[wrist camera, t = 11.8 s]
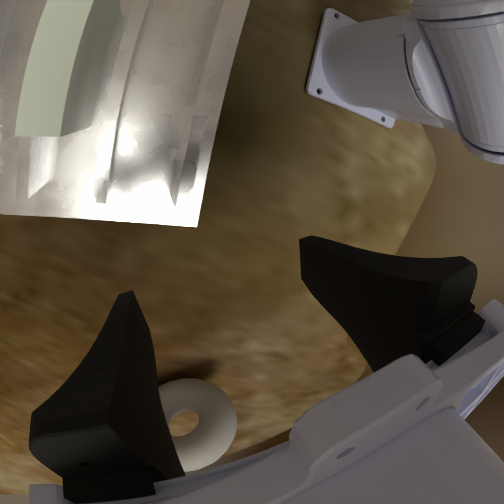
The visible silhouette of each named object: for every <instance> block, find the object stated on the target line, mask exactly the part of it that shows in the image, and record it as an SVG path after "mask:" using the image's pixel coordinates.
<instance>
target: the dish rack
mask: <svg viewBox="0 0 504 504" xmlns="http://www.w3.org/2000/svg"><path fill="white" fill-rule="evenodd" d="M46 2H47V0H0V214H9V215H29V216H47V217H64V218H80V219H95V220H110V221H124V222H138V223H151V224H164V225H177V226H189V227H197V224H198V218H199V213H200V207H201V202H202V197H203V191H204V186H205V181H206V176H207V171H208V166H209V162H210V157H211V152H212V147H213V143H214V138H215V134H216V129H217V125H218V120H219V116H220V112H221V108H222V103H223V99H224V95H225V91H226V87H227V83H228V79H229V75H230V71H231V67H232V64H233V60H234V56H235V52H236V49H237V45H238V41H239V38H240V34H241V31H242V27H243V24H244V20H245V17H246V13H247V10H248V7H249V3H250V0H120V8H121V9H120V12H119V15H118V18H117V20H116V24H115V27H114V30H113V33H112V36H111V39H110V43H109V46H108V50H107V53H106V57H105V61H104V65H103V69H102V73H101V77H100V81H99V86H98V90H97V95H96V100H95V105H94V110H93V116H92V122H91V127H90V128H87V129H84V130H80V131H77V132H74V133H71V134H68V135H65V136H62V137H34V136H15V128H16V120H17V113H18V107H19V101H20V95H21V90H22V85H23V80H24V75H25V71H26V66H27V62H28V58H29V55H30V51H31V47H32V44H33V40H34V37H35V34H36V31H37V28H38V24H39V22H40V19H41V16H42V13H43V10H44V8H45V5H46Z"/></svg>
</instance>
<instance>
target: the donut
mask: <svg viewBox="0 0 504 504" xmlns="http://www.w3.org/2000/svg"><path fill="white" fill-rule="evenodd" d="M158 387H159V394H160V399H161V404H162V407H163V411H164V415H165V418H166V422H167V425H169V422H170V421H171V419H172V418H173V417H174V416H176V415H177V414H179V413H181V412H184V411H194V412H196V413H198V415H199V423H198V425H197V426H196V428H195V429H194V430H193V431H191V432H190V433H189V434H186V435H184V436H179V437H176V436H172V435H171V437H172V440H173V443H174V446H175V449H176V452H177V454H178V457H179V460H180V463H181V465H182V468H183V470H184V472H186V471H193V470H199V469H201V468H203V467H205V466H207V465H210V464H212V463H214V462H215V461H216V460H217V459H218V458H220V457H221V456H222V455H223V454H224V453H225V452H226V451H227V450H228V448H229V446H230V444H231V443H232V441H233V439H234V437H235V433H236V427H237V417H236V412H235V408H234V404H233V403H232V401H231V400H230V398H229V397H228V396H227V394H226V393H225V392H224V391H223V390H222V389H220V388H219V387H217V386H216V385H215V384H213V383H210V382H207V381H204V380H201V379H198V378H182V379H177V380H172V381H169V382H167V383H165V384H163V385H160V386H158Z"/></svg>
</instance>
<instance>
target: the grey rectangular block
mask: <svg viewBox="0 0 504 504" xmlns="http://www.w3.org/2000/svg"><path fill="white" fill-rule="evenodd" d="M120 9H121V8H120V0H47V2H46V5H45V8H44V10H43V13H42V16H41V19H40V22H39V24H38V28H37V31H36V34H35V37H34V40H33V44H32V47H31V51H30V55H29V58H28V62H27V66H26V71H25V75H24V80H23V85H22V90H21V95H20V101H19V107H18V113H17V120H16V128H15V136H34V137H62V136H65V135H68V134H71V133H74V132H77V131H80V130H84V129H87V128H90V127H91V122H92V116H93V110H94V105H95V100H96V95H97V90H98V86H99V81H100V77H101V73H102V69H103V65H104V61H105V57H106V53H107V50H108V46H109V43H110V39H111V36H112V33H113V30H114V27H115V24H116V20H117V18H118V15H119V12H120Z"/></svg>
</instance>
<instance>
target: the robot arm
mask: <svg viewBox="0 0 504 504" xmlns="http://www.w3.org/2000/svg"><path fill="white" fill-rule="evenodd" d="M410 10H411V11H412V13H409V14H402V15H396V16H390V17H384V18H379V19H374V20H369V21H364V22H360V23H358V22H357V21H355V20H353V19H351V18H350V17H348V16H346V15H344V14H342V13H340V12H338V11H337V10H335V9H333V8H328V9H326V10H325V11H324V15H323V19H322V23H321V27H320V31H319V36H318V40H317V44H316V48H315V52H314V57H313V61H312V65H311V69H310V73H309V77H308V81H307V85H306V92H307V93H308V94H309V95H311V96H313V97H316V98H319V99H322V100H324V101H327V102H329V103H332V104H334V105H337V106H339V107H342V108H344V109H347V110H349V111H351V112H354V113H356V114H358V115H361V116H363V117H365V118H367V119H370V120H372V121H374V122H376V123H378V124H380V125H382V126H385V127H387V128H392V127H393V125H394V122H395V119H399V120H405V121H411V122H416V123H421V124H426V125H431V126H436V127H441V128H444V129H446V130H450V131H454V132H458V133H459V134H460V138H461V141H462V143H463V145H464V146H465V147H466V149H467V150H468V151H469V152H471V153H472V154H473V155H475V156H477V157H479V158H481V159H483V160H486V161H489V162H493V163H497V164H503V165H504V0H414V1H413V4H411V6H410ZM334 14H335V15H336V16H337V18H336V17H335V16H334ZM317 89H319V91H320V93H319V94H317ZM381 118H382V121H381ZM299 246H300V263H301V279H302V280H303V282H304V283H305V285H306V286H307V288H308V289H309V291H310V292H311V293H312V295H313V296H314V297H315V298H316V299H317V300H318V302H319V303H320V304H321V305H322V306H323V307H324V308H325V309H326V310H327V311H328V312H329V313H330V314H331V315H332V316H333V318H334V319H335V320H336V321H337V322H338V323H339V324H340V325H341V326H342V327H343V328H344V330H345V331H346V332H347V333H348V335H349V336H350V337H351V339H352V340H353V342H354V343H355V344H356V346H357V347H358V349H359V350H360V351H361V353H362V355H363V356H364V358H365V359H366V361H367V362H368V364H369V365H370V367H371V369H372V370H373V372H374V373H373V374H371V375H369V376H368V377H365V378H364V379H362V380H360V381H358V382H356V383H355V384H353V385H351V386H349V387H347V388H345V389H343V390H341V391H339V392H337V393H335V394H333V395H331V396H329V397H327V398H325V399H324V400H322V401H320V402H319V403H317V404H315V405H314V406H312V407H311V408H309V409H307V410H306V411H305V412H304V413H303V414H302V415H301V416H300V417H299V418H298V419H297V420H296V421H295V423H294V425H293V428H292V431H291V432H290V435H289V439H290V440H289V441H287V442H285V443H282V444H280V445H277V446H275V447H272V448H270V449H267V450H265V451H262V452H260V453H257V454H254V455H252V456H249V457H246V458H243V459H240V460H237V461H234V462H231V463H228V464H225V465H222V466H218V467H215V468H212V469H209V470H205V471H202V472H198V473H194V474H190V475H185V472H184V470H183V468H182V465H181V463H180V460H179V457H178V454H177V452H176V449H175V446H174V443H173V440H172V437H171V434H170V431H169V428H168V425H167V422H166V418H165V415H164V411H163V407H162V404H161V399H160V394H159V387H158V379H157V371H156V363H155V354H154V347H153V343H152V339H151V334H150V330H149V327H148V325H147V323H146V320H145V318H144V316H143V313H142V311H141V309H140V306H139V304H138V302H137V299H136V297H135V294H134V292H133V290H132V291H128V292H125V293H122V294H119V295H118V297H117V299H116V301H115V303H114V305H113V307H112V309H111V311H110V314H109V316H108V318H107V320H106V322H105V324H104V326H103V328H102V330H101V331H100V333H99V335H98V337H97V339H96V341H95V342H94V344H93V346H92V347H91V349H90V350H89V352H88V353H87V355H86V356H85V358H84V359H83V361H82V362H81V363H80V365H79V366H78V367H77V368H76V370H75V371H74V372H73V373H72V374H71V376H70V377H69V378H68V379H67V380H66V382H65V383H64V384H63V385H62V386H61V387H60V388H59V389H58V390H57V391H56V392H55V393H54V394H53V395H52V396H51V397H50V398H49V399H47V400H46V401H45V402H44V403H43V404H42V405H40V406H39V407H38V408H37V409H36V410H34V411H33V412H32V415H31V424H30V435H29V450H30V451H31V453H32V454H33V456H34V457H35V458H36V459H37V460H38V461H40V462H41V463H42V464H43V465H45V466H46V467H48V468H49V469H50V470H52V471H53V472H55V473H56V474H58V475H59V476H61V477H62V478H63V486H61V485H57V484H31V485H29V500H30V504H504V463H503V461H502V460H501V459H500V458H499V457H498V456H497V455H496V454H495V452H494V451H493V450H492V449H491V448H490V447H489V446H488V445H487V444H486V443H485V442H484V441H483V439H482V438H481V437H480V436H479V435H477V433H476V432H475V431H474V430H473V429H472V428H471V427H470V426H469V425H468V424H467V422H466V421H465V420H464V419H465V418H466V417H467V416H468V414H469V413H471V411H472V410H473V409H474V408H475V407H476V406H477V405H478V404H479V403H480V402H481V401H482V400H483V399H484V397H485V396H486V395H487V394H488V393H489V392H490V391H491V390H492V388H493V387H494V386H495V385H496V384H497V383H498V381H499V380H500V379H501V378H502V377H503V376H504V305H502V304H501V303H500V302H498V301H497V300H495V299H493V300H491V302H489V303H488V304H487V305H486V306H485V307H484V308H483V309H482V310H481V311H480V313H479V314H476V313H475V312H474V311H473V310H474V309H475V305H473V304H472V303H471V302H470V299H471V296H472V293H473V290H474V287H475V284H476V280H477V267H476V265H475V264H474V263H473V262H471V261H470V260H468V259H466V258H465V257H462V256H458V257H446V258H413V257H402V256H394V255H388V254H382V253H377V252H372V251H368V250H364V249H360V248H356V247H353V246H349V245H346V244H342V243H339V242H335V241H332V240H329V239H325V238H321V237H317V236H308V237H305V238H302V239H299Z"/></svg>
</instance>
